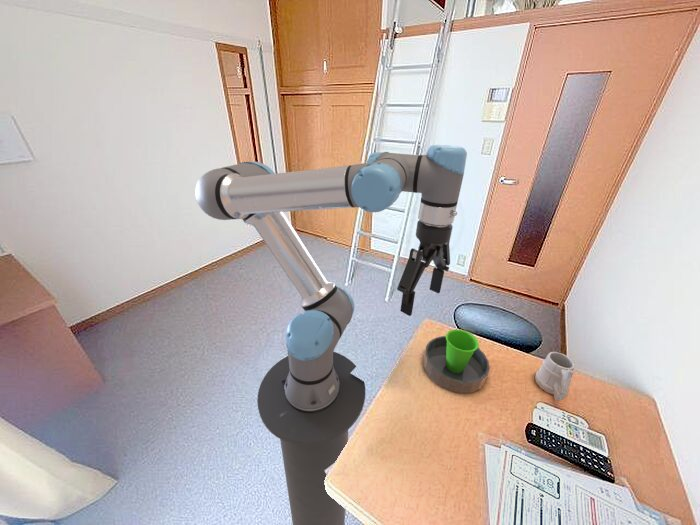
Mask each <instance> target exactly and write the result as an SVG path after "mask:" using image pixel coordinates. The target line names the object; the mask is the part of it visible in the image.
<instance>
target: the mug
mask: <svg viewBox="0 0 700 525" xmlns="http://www.w3.org/2000/svg"><path fill="white" fill-rule="evenodd" d="M575 368H576V363H575V362H574V360H573V359H572V358H571V357H569V356H568V355H566V354H564V353H563V352H562V353H561V352H557V351H550V352H549V353H548V354H547V355H546V358H544V359H543V360H542V363H541V366H540V368H539V369H538V370H536V372H535V377H534V380H535V384H536V385H537V386H538V387H539V388H540V389H541V390H542V391H544V392H545V393H548V394H550V395H553V398H554V401H555V402H560V401H563V400H564V399H565V398H566V396H567V395H568V391H569V388H570V385H571V382H572V378H573V376H574V374H575V371H574V370H575Z"/></svg>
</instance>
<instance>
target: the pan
mask: <svg viewBox="0 0 700 525" xmlns="http://www.w3.org/2000/svg"><path fill="white" fill-rule="evenodd" d="M446 349H447V340H446V335H442V336H437V337H434V338H433V339H431V340H429V341H428V343H427V344H426V346H425V349H424V354H423V363H422V364H423V368H424V371H425V372H426V374H427V376H428V377H429V378H430V379H431V380H432V381H433V382H434V383H435V384H436V385H438V386H439V387H441V388H443V389H445V390H446V391H449V392H451V393H456V394H473V393H476V392H478V391H479V390H481V389H482V387H483V386H485V384H486V380H487V377H488V374H489V371H490V368H491V367H490V362H489V360H488V358H487V356H486V354H485V353H484V351H482V350H481V349H480V347H478V349H477V350H476V351H474V353H473V355H472V357H471V358H470V360H469V362H468V363H467V365H466V367H465V369H464V370H463V371H462V372H461V373H453V372H451V371H450V370H449V369H448V368H447V366H446Z"/></svg>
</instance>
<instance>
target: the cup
mask: <svg viewBox="0 0 700 525" xmlns="http://www.w3.org/2000/svg"><path fill="white" fill-rule="evenodd" d="M445 336H446V340H447V349H446V366H447V368H448V369H449V370H450V371H451V372H453V373H461V372H462V371H463V370H464V369H465V367H466V365H467V363H468V362H469V360H470V358H471V357H472V355H473V353H474V351H476V350H477V349H478V348H480V344H479V341H478V338H477V337H476V336H475V335H474V334H472V333H471V332H469V331H468V330H464V329H451V330H449V331H447V333H446V334H445Z"/></svg>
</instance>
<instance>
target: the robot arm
mask: <svg viewBox="0 0 700 525" xmlns="http://www.w3.org/2000/svg"><path fill="white" fill-rule="evenodd" d="M467 157H468V152H467V150H466V149H465V147H463V146H459V145H450V144H432V145H430V146H428V149H427V152H426V154H409V153H397V152H389V151H383V152H382V151H381V152H376V151H374V152H371V153H370V154H369V155H368V158H367V160H366V163H365V162H364V163H356V164H350V165H341V166H333V167H332V166H331V167H322V168H314V169H305V170H296V171H288V172H287V171H285V172H280V173H275V172H274V171H273V169H272V168H271V167H270V166H268V165H266V163H263V162H260V161H242V162H240V163H237V164H233V165H228V166H223V167H220V168H219V167H218V168H214V169H211V170H209V171H207V172H205V173H204V174H202V175H201V177H199V179H198V181H197V182H196V186H195V191H194V194H195V200H196V202H197V205H198V206H199V208H200V210H202V212H204V214H206V215H207V216H209V217H211V218H212V219H216V220H218V221H219V220H220V221H229V220H242V221H243V222H244V224H246V225H251V226H253V227H254V228H255V230H256V231H257V233H258V234H259V236H260V237H261V239H262V240H263V242H264V243H265V244H266V246H267V248H268V249H269V251H270V253H272V255H273V256H274V258H275V260H276V261H277V263H278V264H279V266H280V267H281V269H282V270H283V272H284V273H285V275H286V276H287V278H288V279H289V281H290V282H291V283H292V284H293V286H294V288H295V289H296V291H297V292H298V294H299V295H300V297H301V298H300V299H301V300H300V306H301V308H302V310H304V312H303V313H298V314H297V315H295V316H294V317H293V318H291V320H290V321H289V323H288V325H287V328H286V333H285V334H286V337H285V345H286V349H287V356H288V359H289V369H290V371H289V374H288V377H287V378H285V379H283V380H282V383H283V382H285V381H286V383H285V396H286V399H287V401H288V403H289V404H290V405H291V406H292V407H293V408H294V409H296V410H298V411H300V412H304V413H316V412H320V411H322V410H324V409H326V408H328V407H329V406H330V405H332V404H333V403H334V401H335V400H336V398H337V396H338V394H339V378H338V375H337V373H336V371H335V369H334V367H333V352H335V349H336V347H337V345H338V343H339V341H340V339H341V338H342V336H343V334H344V333H345V330H346V328H347V326H348V325H349V324H350V322H351V320H352V318H353V316H354V315H353V314H354V313H355V312H354V311H355V302H354V299H353V297H352V295H351V294H350V292H349V291H347V289H345V288H342V287H341V286H338V285H336V283H335V282H334V281H329V280H327V278H326V277H325V275H324V274H323V273H322V271H321V270H320V267H319V266H318V264H317V263H316V261H315V260H314V259H313V257H312V255H311V253H310V252H309V250H308V249H307V248H306V246H305V244H304V242H303V240H301V238H300V237H299V235H298V233H297V231H296V230H295V228H294V226H293V225H292V224H291V222H290V221H289V219H288V217H287V215H286V214H285V213H286V212H301V211H317V210H319V211H321V210H332V209H334V210H335V209H353V208H359V209H362V210H363V211H365V212H368V213H380V212H383V211H384V210H386V209H388V208H389V207H391V206H392V205H393V204H394V203H395V202H396V201H397V200H398V198H399V196H400V194H401V193H402V192H406V193H413V194H421V195H420V196H421V197H420V203H419V209H418V214H417V219H418V220H417V223H416V229H415V237H416V239H418V241H419V244H418V245H419V246H418V247H417V249H416V248H413V247H411V249H410V250H409V256H408V259H407V262H406V264H405V267H404V270H403V272H402V274H401V278H400V280H399V282H398V285H397V288H396V290H397V291H398V292H401V293H402V295H401V305H400V309H399V310H400V312H402V314H404V315H407V316H409V317H411V316H412V315H413V309H414V302H415V297H416V291H415V289H416V287H417V285H418V283H419V281H420V280H421V278H422V275H423V273H424V271H425V270H426V269H427V268H429V266H430V264H431V263H432V262H433V264H434V266H435V267H434V268H433V269H432V275H431V279H430V285H429V290H430V291H431V292H433V293H436V294H440V293H441V289H442V285H443V279H444V275H445V272H448V271H449V270H450V267H449V266H450V265H451V252H450V249H451V248H450V241H451V236H452V232H453V227H454V226H453V223H454V221H455V217H456V216H457V215H458V211H457V206H458V201H459V198H460V195H461V194H460V193H461V188H462V184H463V180H464V174H465V171H466V170H465V169H466V162H467ZM284 212H285V213H284Z"/></svg>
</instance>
